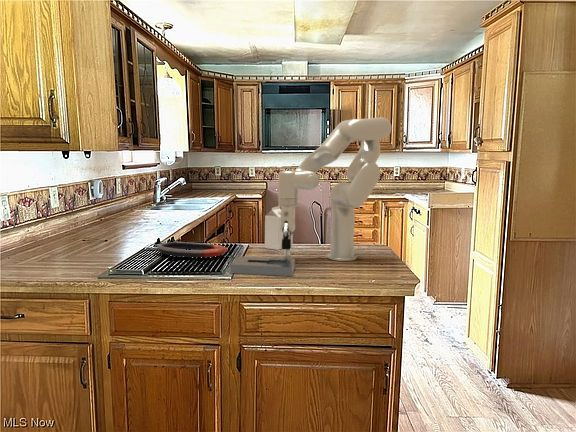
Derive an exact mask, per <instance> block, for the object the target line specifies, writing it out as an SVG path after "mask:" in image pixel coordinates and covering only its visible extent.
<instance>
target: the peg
mask: <svg viewBox="0 0 576 432" xmlns="http://www.w3.org/2000/svg"><path fill="white" fill-rule="evenodd" d="M293 237H294V235H293V233H292V234H290V249H289V250H288V249H283V258H288V259H293V258H292V257H290V256H291V249H292V248H293ZM282 238H283V234H282ZM281 248H282V242H281Z"/></svg>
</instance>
